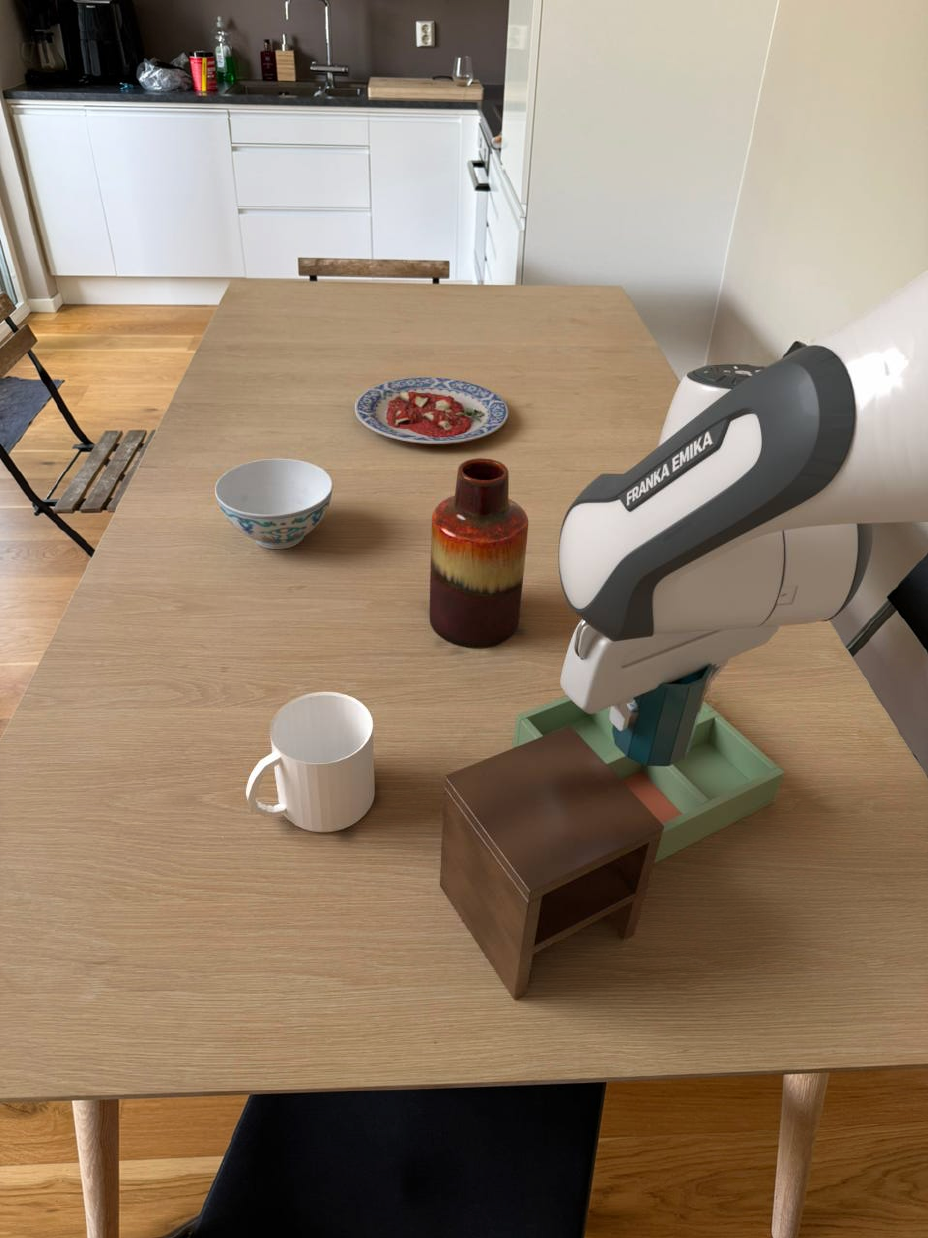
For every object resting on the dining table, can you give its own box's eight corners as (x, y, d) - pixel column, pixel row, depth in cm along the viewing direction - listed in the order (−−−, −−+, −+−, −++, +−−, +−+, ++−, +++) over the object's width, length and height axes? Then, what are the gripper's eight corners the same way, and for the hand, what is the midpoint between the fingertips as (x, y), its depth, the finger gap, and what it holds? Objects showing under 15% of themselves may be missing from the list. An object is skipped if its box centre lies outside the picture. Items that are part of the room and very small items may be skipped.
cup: (705, 749, 77) (729, 671, 71) (645, 777, 74) (665, 697, 68) (655, 702, 81) (674, 625, 75) (597, 726, 78) (612, 648, 73)
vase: (502, 588, 113) (515, 442, 100) (530, 641, 105) (548, 489, 92) (420, 599, 110) (422, 450, 98) (442, 654, 102) (447, 499, 89)
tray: (773, 802, 86) (785, 772, 84) (624, 878, 79) (632, 848, 76) (651, 689, 99) (658, 659, 96) (512, 745, 91) (515, 715, 88)
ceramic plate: (331, 439, 143) (330, 422, 141) (384, 380, 163) (384, 364, 161) (486, 465, 138) (487, 448, 137) (521, 401, 158) (523, 385, 156)
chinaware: (324, 571, 114) (320, 519, 109) (208, 562, 114) (199, 510, 110) (343, 511, 126) (341, 462, 121) (238, 503, 126) (232, 454, 122)
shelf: (634, 934, 74) (664, 826, 66) (514, 1000, 69) (530, 892, 61) (552, 833, 82) (570, 724, 74) (439, 885, 77) (444, 775, 69)
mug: (357, 751, 89) (353, 682, 84) (388, 817, 83) (387, 746, 77) (237, 785, 85) (226, 714, 80) (261, 857, 79) (249, 786, 73)
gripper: (608, 638, 60) (582, 776, 69) (818, 561, 69) (771, 693, 77) (554, 588, 64) (536, 725, 73) (759, 522, 73) (721, 651, 81)
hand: (659, 708), depth 75 cm, fingers closed on cup, 6 cm apart
